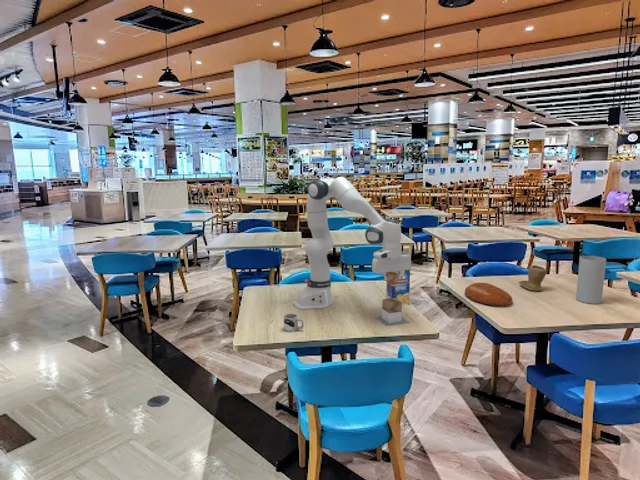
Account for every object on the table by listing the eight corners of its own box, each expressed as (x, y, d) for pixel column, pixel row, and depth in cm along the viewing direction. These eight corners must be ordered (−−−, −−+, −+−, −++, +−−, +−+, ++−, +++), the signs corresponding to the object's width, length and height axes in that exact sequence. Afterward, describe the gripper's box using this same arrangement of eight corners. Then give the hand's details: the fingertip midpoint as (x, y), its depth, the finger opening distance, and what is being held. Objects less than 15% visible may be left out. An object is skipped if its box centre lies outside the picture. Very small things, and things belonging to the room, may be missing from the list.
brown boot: (548, 292, 257) (550, 268, 254) (529, 292, 257) (531, 268, 254) (536, 285, 271) (537, 262, 269) (517, 285, 272) (519, 262, 269)
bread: (489, 310, 227) (490, 294, 226) (454, 293, 257) (454, 279, 255) (523, 305, 234) (524, 290, 232) (485, 290, 264) (485, 276, 262)
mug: (281, 330, 201) (281, 317, 200) (287, 325, 207) (287, 313, 206) (301, 333, 198) (300, 320, 196) (306, 328, 204) (306, 315, 203)
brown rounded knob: (389, 285, 203) (389, 275, 202) (385, 282, 208) (385, 272, 207) (399, 283, 205) (399, 273, 204) (394, 281, 209) (394, 271, 208)
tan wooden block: (389, 313, 204) (389, 303, 203) (382, 308, 211) (382, 299, 210) (401, 311, 206) (401, 301, 205) (394, 307, 213) (394, 297, 212)
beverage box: (409, 305, 236) (410, 267, 232) (391, 307, 232) (392, 268, 229) (403, 301, 242) (404, 264, 238) (386, 303, 239) (386, 266, 235)
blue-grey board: (386, 329, 201) (386, 326, 201) (374, 320, 213) (374, 317, 213) (409, 325, 206) (410, 322, 205) (396, 316, 218) (396, 314, 217)
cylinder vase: (576, 296, 248) (580, 254, 244) (602, 299, 241) (606, 257, 236) (574, 301, 238) (578, 258, 234) (601, 305, 231) (606, 261, 226)
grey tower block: (388, 323, 205) (389, 313, 204) (382, 318, 211) (382, 308, 211) (401, 321, 207) (401, 311, 206) (394, 316, 214) (394, 307, 213)
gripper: (407, 249, 210) (407, 276, 212) (370, 253, 203) (370, 280, 206) (414, 251, 204) (413, 279, 206) (376, 255, 197) (376, 284, 200)
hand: (391, 280), depth 206 cm, fingers closed on brown rounded knob, 5 cm apart
